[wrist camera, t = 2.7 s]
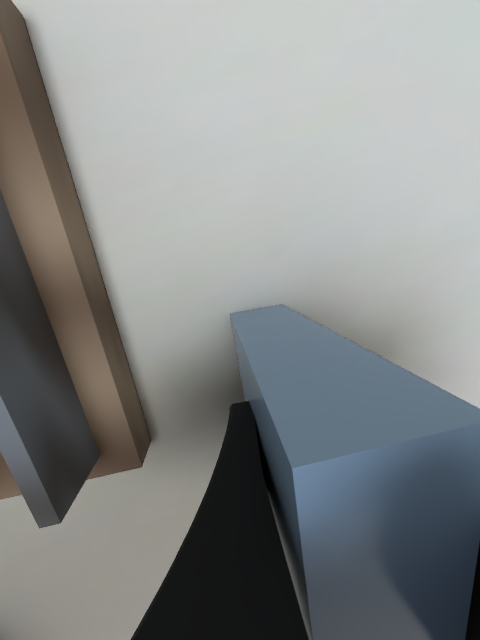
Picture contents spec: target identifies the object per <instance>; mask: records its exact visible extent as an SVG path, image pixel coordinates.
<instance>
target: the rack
mask: <svg viewBox="0 0 480 640" xmlns="http://www.w3.org/2000/svg"><path fill="white" fill-rule="evenodd" d="M150 442H151V439H150V435H149V432H148V429H147V425H146V422H145V419H144V415H143V412H142V409H141V406H140V402H139V399H138V396H137V392H136V389H135V386H134V382H133V379H132V376H131V372H130V369H129V366H128V362H127V359H126V356H125V353H124V349H123V346H122V343H121V339H120V336H119V333H118V329H117V326H116V323H115V319H114V316H113V313H112V310H111V306H110V303H109V300H108V296H107V293H106V290H105V286H104V283H103V280H102V276H101V273H100V270H99V267H98V263H97V260H96V257H95V253H94V250H93V247H92V243H91V240H90V237H89V233H88V230H87V227H86V223H85V220H84V217H83V214H82V210H81V207H80V204H79V200H78V197H77V194H76V190H75V187H74V184H73V180H72V177H71V174H70V171H69V167H68V164H67V161H66V157H65V154H64V151H63V147H62V144H61V141H60V137H59V134H58V131H57V128H56V124H55V121H54V118H53V114H52V111H51V108H50V104H49V101H48V98H47V94H46V91H45V88H44V85H43V81H42V78H41V75H40V71H39V68H38V65H37V61H36V58H35V55H34V51H33V48H32V45H31V41H30V38H29V35H28V32H27V28H26V25H25V22H24V18H23V15H22V14H21V13H20V11H19V10H18V9H17V7H16V6H15V5H14V3H13V2H12V1H11V0H0V499H5V498H9V497H14V496H18V495H23V497H24V499H25V501H26V503H27V505H28V507H29V509H30V511H31V513H32V515H33V517H34V519H35V521H36V523H37V524H38V526H39V528H43V527H47V526H51V525H55V524H59V523H61V522H62V520H63V518H64V517H65V515H66V513H67V511H68V510H69V508H70V506H71V505H72V503H73V501H74V500H75V498H76V496H77V494H78V493H79V491H80V489H81V488H82V486H83V484H84V482H85V481H86V480H88V479H92V478H97V477H101V476H105V475H110V474H114V473H118V472H123V471H127V470H131V469H136V468H140V467H142V466H143V463H144V460H145V457H146V454H147V451H148V448H149V445H150Z"/></svg>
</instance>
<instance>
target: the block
mask: <svg viewBox="0 0 480 640" xmlns="http://www.w3.org/2000/svg"><path fill="white" fill-rule="evenodd" d="M230 317H231V323H232V329H233V335H234V341H235V347H236V353H237V359H238V364H239V370H240V376H241V382H242V388H243V394H244V400H245V401H249V403H250V405H251V408H252V411H253V414H254V419H255V426H256V432H257V438H258V444H259V450H260V456H261V463H262V469H263V475H264V480H265V484H266V488H267V491H268V495H269V499H270V503H271V506H272V510H273V514H274V517H275V521H276V525H277V528H278V532H279V535H280V539H281V543H282V546H283V550H284V553H285V557H286V561H287V564H288V568H289V571H290V575H291V578H292V582H293V585H294V589H295V592H296V596H297V599H298V603H299V606H300V610H301V613H302V617H303V620H304V624H305V627H306V631H307V634H308V638H309V640H465V637H466V630H467V623H468V616H469V610H470V603H471V596H472V589H473V583H474V576H475V569H476V563H477V556H478V549H479V542H480V409H479V408H477V407H475V406H473V405H472V404H470V403H468V402H466V401H464V400H462V399H460V398H458V397H456V396H455V395H453V394H451V393H449V392H447V391H445V390H443V389H441V388H439V387H437V386H436V385H434V384H432V383H430V382H428V381H426V380H424V379H422V378H420V377H419V376H417V375H415V374H413V373H411V372H409V371H407V370H405V369H403V368H402V367H400V366H398V365H396V364H394V363H392V362H390V361H388V360H386V359H385V358H383V357H381V356H379V355H377V354H375V353H373V352H371V351H369V350H367V349H366V348H364V347H362V346H360V345H358V344H356V343H354V342H352V341H350V340H349V339H347V338H345V337H343V336H341V335H339V334H337V333H335V332H333V331H332V330H330V329H328V328H326V327H324V326H322V325H320V324H318V323H316V322H315V321H313V320H311V319H309V318H307V317H305V316H303V315H301V314H299V313H298V312H296V311H294V310H292V309H290V308H288V307H286V306H284V305H282V304H280V305H275V306H269V307H264V308H258V309H252V310H247V311H241V312H236V313H230Z"/></svg>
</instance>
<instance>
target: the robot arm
mask: <svg viewBox="0 0 480 640" xmlns="http://www.w3.org/2000/svg"><path fill="white" fill-rule="evenodd" d="M131 640H309V638H308V634H307V631H306V627H305V624H304V620H303V617H302V613H301V610H300V606H299V603H298V599H297V596H296V592H295V589H294V585H293V582H292V578H291V575H290V571H289V568H288V564H287V561H286V557H285V553H284V550H283V546H282V543H281V539H280V535H279V532H278V528H277V525H276V521H275V517H274V514H273V510H272V506H271V503H270V499H269V495H268V491H267V488H266V484H265V480H264V475H263V469H262V463H261V456H260V450H259V444H258V438H257V432H256V426H255V419H254V414H253V411H252V408H251V405H250V403H249V401H245V402H240V403H235V404H232V405H231V407H230V413H229V420H228V425H227V429H226V434H225V437H224V441H223V444H222V448H221V451H220V454H219V457H218V460H217V463H216V466H215V469H214V471H213V474H212V477H211V480H210V483H209V485H208V488H207V490H206V493H205V495H204V497H203V500H202V502H201V505H200V507H199V509H198V511H197V514H196V516H195V518H194V520H193V522H192V525H191V527H190V529H189V531H188V533H187V535H186V537H185V539H184V541H183V543H182V545H181V547H180V549H179V551H178V553H177V555H176V557H175V560H174V562H173V563H172V565H171V567H170V569H169V571H168V573H167V575H166V577H165V579H164V581H163V583H162V585H161V586H160V588H159V590H158V592H157V594H156V596H155V597H154V599H153V601H152V603H151V604H150V606H149V608H148V610H147V612H146V613H145V615H144V617H143V619H142V620H141V622H140V624H139V626H138V628H137V629H136V631H135V633H134V635H133V636H132V638H131ZM465 640H480V542H479V549H478V556H477V563H476V569H475V576H474V583H473V589H472V596H471V603H470V610H469V616H468V623H467V630H466V637H465Z"/></svg>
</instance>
